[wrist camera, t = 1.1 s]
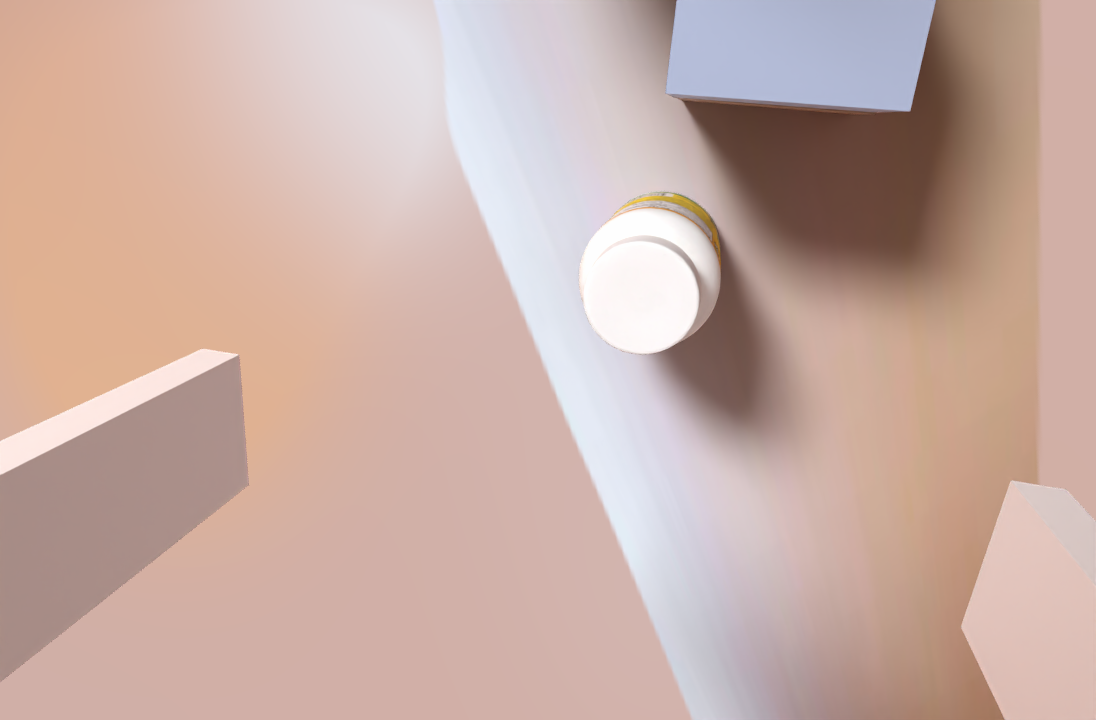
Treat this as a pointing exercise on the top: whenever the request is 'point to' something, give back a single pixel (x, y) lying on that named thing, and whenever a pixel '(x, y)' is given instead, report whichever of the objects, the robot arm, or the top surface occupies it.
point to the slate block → (800, 52)
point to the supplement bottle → (651, 273)
